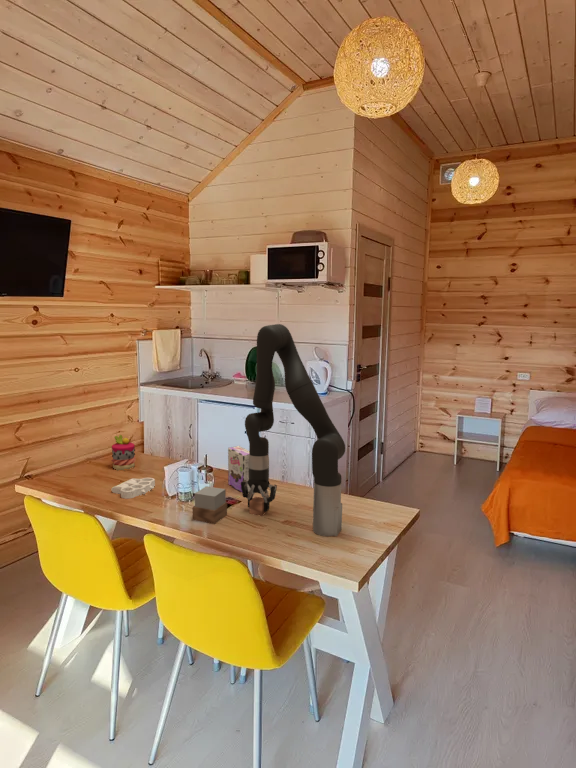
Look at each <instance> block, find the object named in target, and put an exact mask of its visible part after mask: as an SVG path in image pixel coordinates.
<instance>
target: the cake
mask: <svg viewBox="0 0 576 768" xmlns="http://www.w3.org/2000/svg"><path fill="white" fill-rule="evenodd" d="M114 440H115V443H113V444H112V445H111V450H112V451H111V453H112V455H111V457H112V459H111V460H110V461H111V462H112V469H113V468H114V469H116V470H115V471H119V470H123V471H125V470H124V469H130V468H132V467H134V466H135V463H136V460H137V458H136V456H135V455H136V453H135V452H136V448H135V447H136V446H135V443H133V442H130V439H129V438H127V437H124V438H123V435H122V434H120V435H118V436H117V435H115V436H114ZM135 467H136V466H135ZM135 467H134V468H135ZM114 469H113V470H114ZM130 470H131V469H130Z"/></svg>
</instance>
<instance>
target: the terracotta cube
mask: <svg viewBox="0 0 576 768" xmlns="http://www.w3.org/2000/svg"><path fill="white" fill-rule="evenodd" d="M252 498H253V499H252V500H250V506H249V508H248V509H249V514H248V515H253V514H254V516H258V515H260V517H263V516H264V515H265V514H267V512H264V502H265V501H264V499H263V497H262V496H261V497H259V496H253V497H252ZM264 513H265V514H264ZM263 514H264V515H263Z"/></svg>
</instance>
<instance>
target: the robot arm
mask: <svg viewBox="0 0 576 768" xmlns="http://www.w3.org/2000/svg"><path fill="white" fill-rule="evenodd" d="M275 354H277V355H278V357H279V359H280V361H281V364H282V365H283V372H284V387H285V390H286V392H287V396H288V397H289V399H290V401H291V402H292V404H293V407H294V408H295V409H296V411H297V412H298V413H299V414H300V415H301V416H302V417H303V418H304V419H305V420H306V421H307V422H308V423H309V425H310V426H311V428H312V430H313V431H314V433H315V435H316V437H317V439H316V440H315V441H314V443H313V445H312V448H311V473H312V476H313V506H312V507H313V511H312V531H313V533H315V534H316V535H318V536H323V537H337V536H338V535H339V534H340V533H341V531H342V528H343V527H342V526H343V525H342V524H343V503H342V501H341V500H342V475H341V473H340V472H339V460H340V459H341V458H343V456H344V455H345V454H346V444H345V441H344V439H343V437H342V435H341V434H340V432H339V431H338V429H337V427H336V426H335V425H334V424H335V423H334V422H333V421H332V419H331V418H330V416H329V414H328V412H327V410H326V408H325V405H324V404H323V401H322V400H321V398H320V395H319V393H318V390H317V389H316V387H315V385H314V383H313V380H312V379H311V378H310V375H309V373H308V371H307V369H306V367H305V365H304V363H303V361H302V359H301V357H300V354H299V352H298V349H297V347H296V344H295V342H294V338H293V336H292V333H291V332H290V330H289V328H288V327H287V326H285V325H284V324H281V323H276V324H269V325H265V326H262V327H260V329H259V330H258V332H257V336H256V377H255V385H254V390H253V391H254V392H253V397H252V404H253V406H254V407H256V408H258V409H260V411H259V412H252V413H249V414H247V415H246V417H245V419H244V428H245V431H246V435H247V439H248V444H249V446H248V447H249V448H248V451H249V463H248V465H249V480H248V481H246V480H244V481H242V482H241V488H242V493H241V494H242V498H246V499H247V508H248V509H249V506H250V500H252V499H253V498H254V495H255V494H260V495H261V498H263V499H264V501H265V502H264V512H266V513H267V512H268V511H269V510H270V503H271V502H273V501H274V500H275V498H276V495H277V494H276V493H277V487H278V485H277V484H271V483H270V457H269V454H270V452H269V451H270V450H269V439H268V438H266V437H264V436H260V433H261V432H266V431H269V430H271V429H272V427H273V426H274V423H275V418H274V407H273V401H274V396H275V391H276V390H275V389H276V382H275V381H276V380H275V377H274V373H273V371H274V370H273V361H274V357H275ZM248 485H249V486H250V488H251V489H250V491H249V493H248V487H247V486H248ZM268 489H269V491H270V492H269V491H268Z"/></svg>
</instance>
